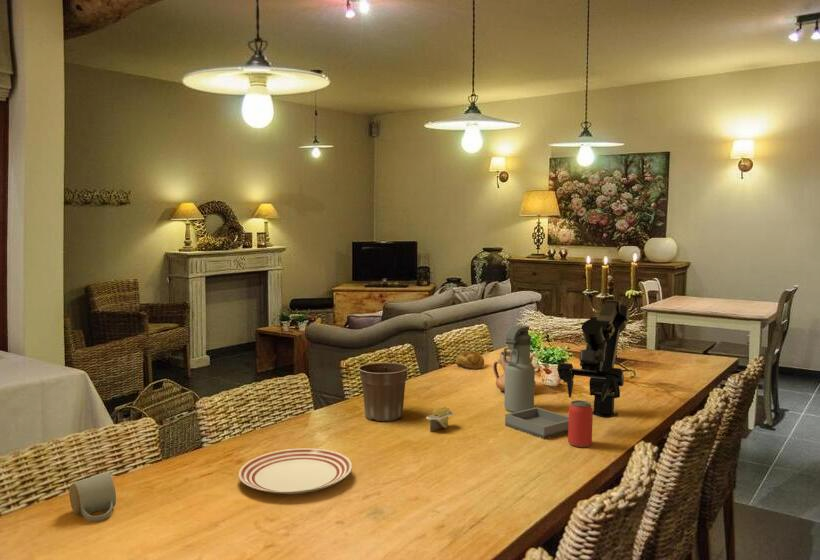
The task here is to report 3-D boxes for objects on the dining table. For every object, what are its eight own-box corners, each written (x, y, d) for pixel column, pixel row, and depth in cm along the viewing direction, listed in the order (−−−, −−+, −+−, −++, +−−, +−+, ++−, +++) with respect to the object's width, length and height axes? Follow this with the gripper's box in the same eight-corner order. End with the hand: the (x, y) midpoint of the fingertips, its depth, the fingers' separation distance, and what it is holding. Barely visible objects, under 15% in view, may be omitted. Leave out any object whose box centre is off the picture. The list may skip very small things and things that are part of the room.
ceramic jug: (545, 391, 254) (546, 353, 252) (526, 399, 242) (526, 360, 241) (503, 383, 265) (504, 347, 263) (483, 391, 254) (483, 353, 252)
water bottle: (520, 415, 223) (521, 330, 220) (497, 409, 230) (498, 326, 227) (539, 410, 229) (541, 327, 227) (517, 403, 237) (518, 323, 234)
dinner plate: (301, 513, 150) (301, 498, 150) (214, 486, 165) (214, 473, 164) (374, 473, 173) (374, 460, 173) (291, 453, 188) (291, 441, 187)
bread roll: (450, 366, 295) (451, 348, 294) (466, 363, 302) (466, 345, 301) (473, 371, 286) (473, 352, 285) (488, 368, 292) (489, 349, 292)
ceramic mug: (68, 509, 151) (66, 476, 150) (107, 500, 156) (106, 467, 155) (81, 527, 143) (80, 492, 142) (122, 516, 148) (121, 482, 147)
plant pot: (351, 412, 226) (351, 364, 224) (397, 407, 232) (397, 360, 231) (368, 426, 211) (368, 374, 209) (416, 420, 217) (416, 370, 216)
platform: (473, 427, 212) (474, 406, 211) (438, 442, 198) (438, 420, 197) (442, 420, 219) (442, 399, 219) (406, 433, 205) (406, 412, 205)
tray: (536, 417, 221) (536, 407, 220) (575, 430, 208) (576, 419, 207) (505, 425, 212) (505, 414, 212) (543, 439, 199) (544, 427, 199)
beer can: (592, 449, 191) (593, 406, 190) (568, 447, 193) (569, 405, 191) (591, 441, 198) (592, 400, 197) (567, 439, 199) (568, 399, 198)
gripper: (559, 336, 206) (548, 379, 198) (623, 341, 198) (615, 387, 189) (565, 357, 214) (555, 400, 205) (627, 363, 206) (619, 408, 197)
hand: (585, 398), depth 199 cm, fingers open, 9 cm apart
